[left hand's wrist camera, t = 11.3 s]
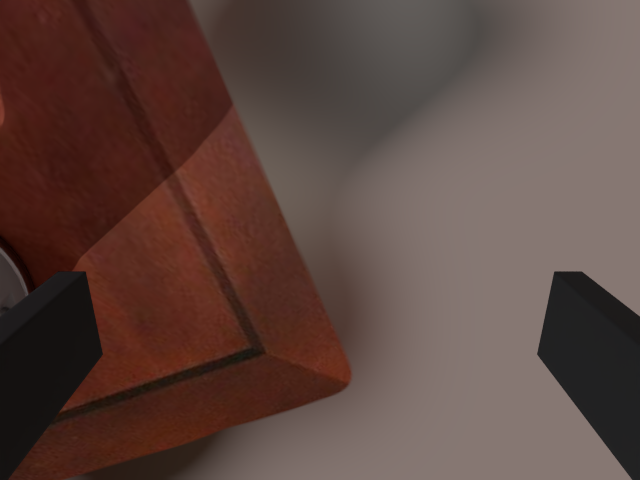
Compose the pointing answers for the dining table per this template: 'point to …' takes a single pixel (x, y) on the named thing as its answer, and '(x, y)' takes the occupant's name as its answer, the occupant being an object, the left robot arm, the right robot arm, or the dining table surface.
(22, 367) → the left robot arm
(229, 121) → the dining table surface
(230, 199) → the dining table surface
